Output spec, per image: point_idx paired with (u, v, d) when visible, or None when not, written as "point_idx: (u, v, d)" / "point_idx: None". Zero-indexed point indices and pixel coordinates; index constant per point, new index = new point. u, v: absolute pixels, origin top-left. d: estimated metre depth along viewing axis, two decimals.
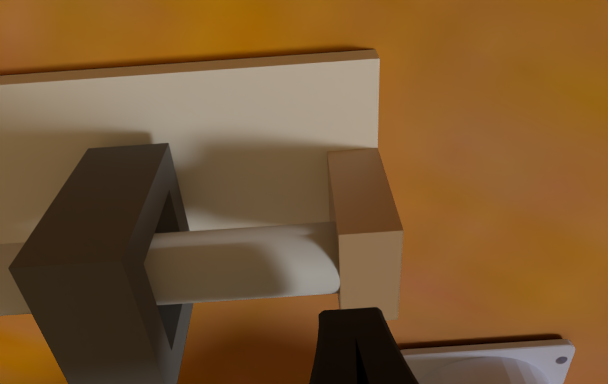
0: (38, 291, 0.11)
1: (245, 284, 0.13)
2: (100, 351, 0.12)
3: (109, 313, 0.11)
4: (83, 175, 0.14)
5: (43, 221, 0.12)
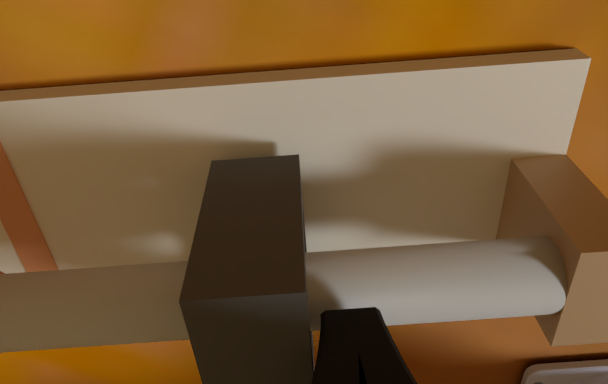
0: (206, 325, 0.10)
1: (462, 306, 0.12)
2: None
3: (277, 348, 0.10)
4: (219, 191, 0.12)
5: (193, 245, 0.11)
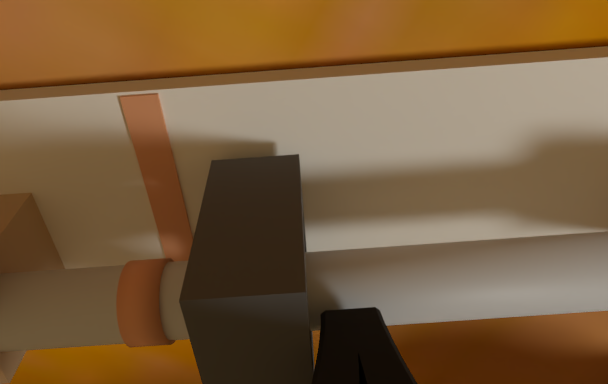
0: (206, 325, 0.10)
1: None
2: None
3: (277, 348, 0.10)
4: (219, 191, 0.12)
5: (193, 244, 0.11)
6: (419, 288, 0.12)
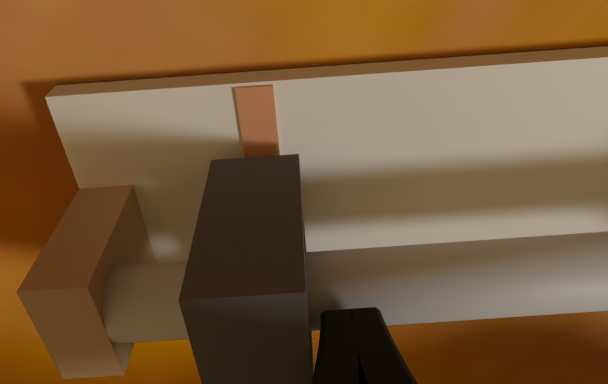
0: (205, 325, 0.10)
1: None
2: None
3: (277, 348, 0.10)
4: (219, 191, 0.12)
5: (193, 244, 0.11)
6: (546, 279, 0.12)
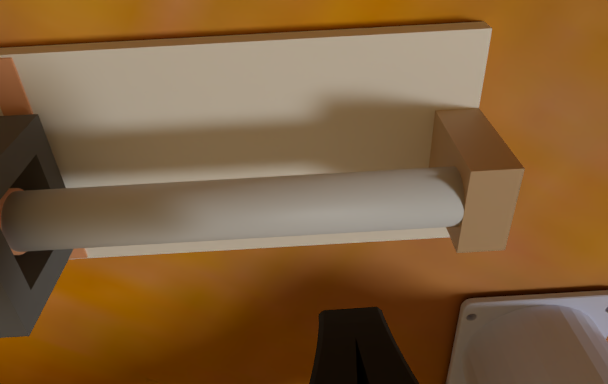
0: None
1: (384, 215, 0.16)
2: None
3: None
4: None
5: None
6: (203, 209, 0.16)
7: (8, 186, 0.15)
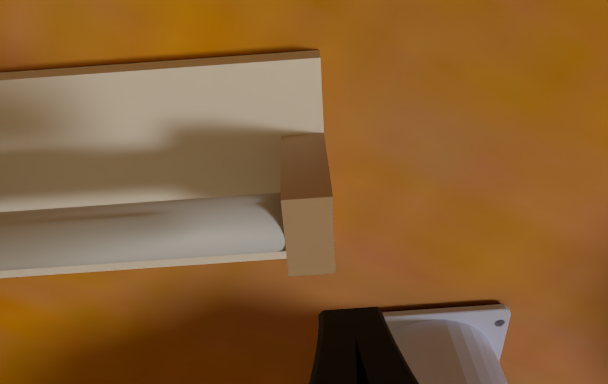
0: None
1: (207, 242, 0.16)
2: None
3: None
4: None
5: None
6: (31, 238, 0.16)
7: None
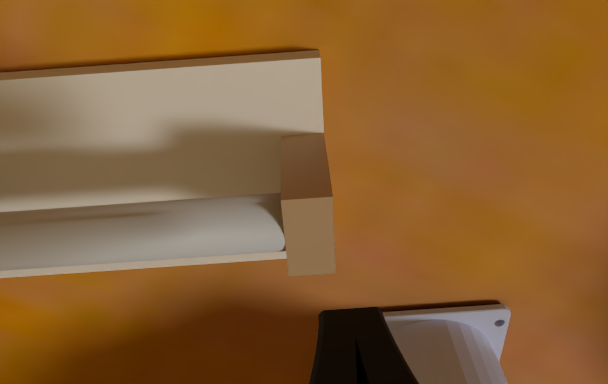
0: None
1: (207, 242, 0.16)
2: None
3: None
4: None
5: None
6: (31, 238, 0.16)
7: None
